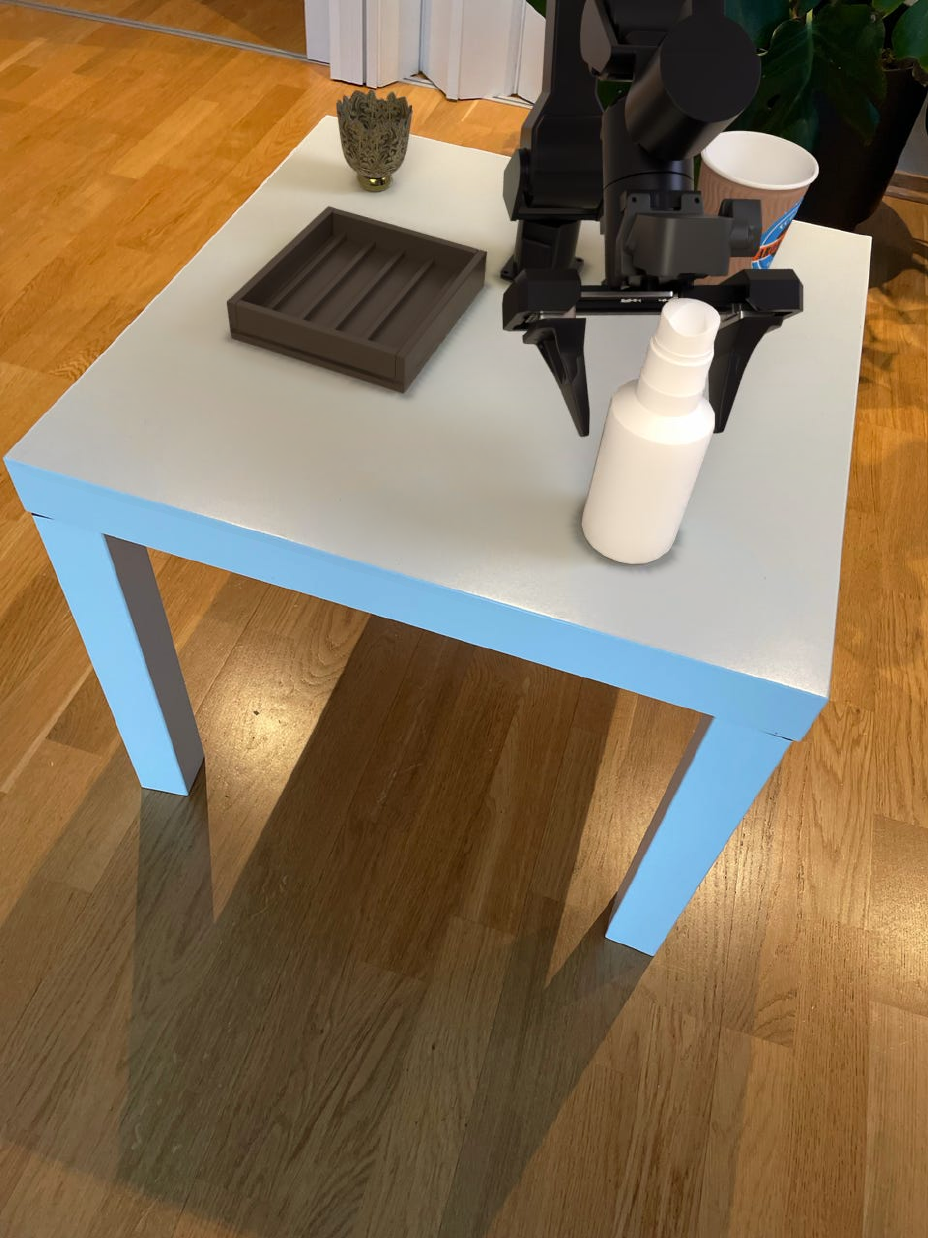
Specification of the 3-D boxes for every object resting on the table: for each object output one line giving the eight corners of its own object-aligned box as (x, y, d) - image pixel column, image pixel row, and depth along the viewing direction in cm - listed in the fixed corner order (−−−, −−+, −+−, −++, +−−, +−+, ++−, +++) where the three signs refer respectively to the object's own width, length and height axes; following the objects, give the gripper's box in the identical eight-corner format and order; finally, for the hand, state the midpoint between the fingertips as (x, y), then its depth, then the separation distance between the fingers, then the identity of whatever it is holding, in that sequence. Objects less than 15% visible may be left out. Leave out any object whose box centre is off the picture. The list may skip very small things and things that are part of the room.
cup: (330, 196, 96) (327, 114, 90) (347, 163, 101) (346, 83, 94) (402, 207, 96) (404, 126, 89) (416, 174, 100) (419, 94, 94)
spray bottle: (681, 514, 70) (757, 298, 56) (663, 577, 66) (741, 361, 52) (593, 489, 71) (646, 270, 57) (570, 549, 67) (621, 330, 53)
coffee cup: (753, 325, 87) (799, 198, 78) (651, 287, 90) (683, 161, 80) (787, 276, 93) (833, 152, 84) (690, 242, 96) (724, 119, 86)
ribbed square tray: (329, 240, 91) (328, 205, 88) (484, 286, 88) (487, 251, 85) (231, 338, 80) (226, 301, 77) (403, 393, 77) (404, 357, 74)
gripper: (533, 135, 52) (541, 425, 53) (851, 141, 54) (850, 418, 56) (497, 203, 63) (504, 442, 64) (763, 206, 65) (763, 435, 67)
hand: (651, 434), depth 62 cm, fingers open, 9 cm apart
